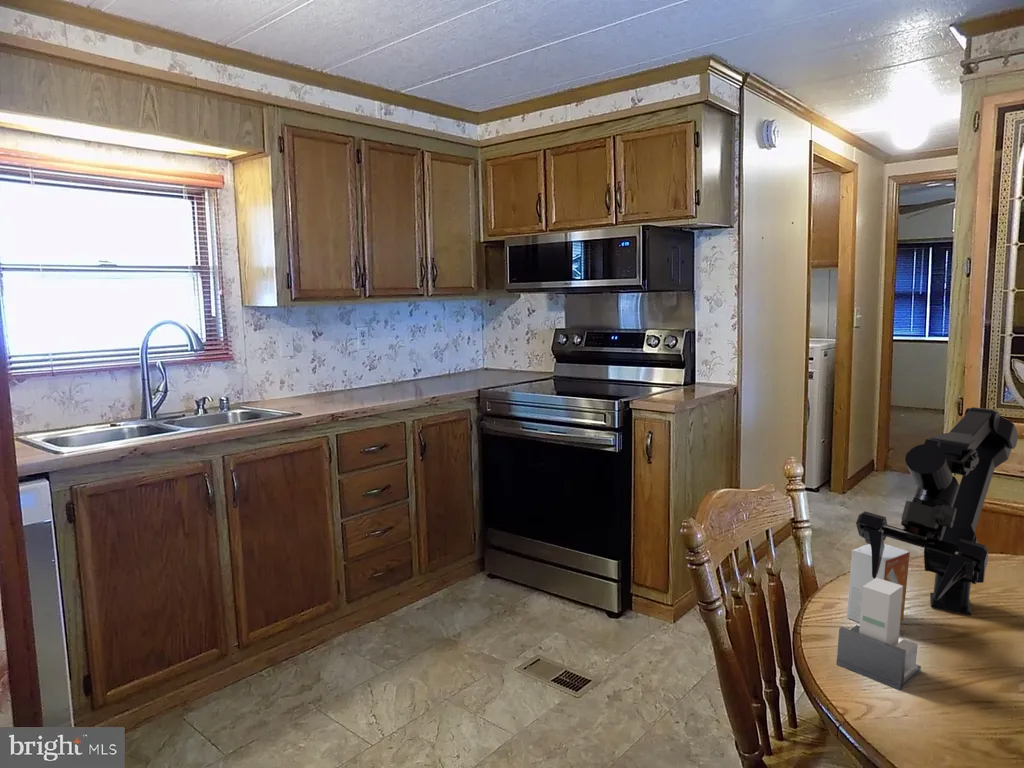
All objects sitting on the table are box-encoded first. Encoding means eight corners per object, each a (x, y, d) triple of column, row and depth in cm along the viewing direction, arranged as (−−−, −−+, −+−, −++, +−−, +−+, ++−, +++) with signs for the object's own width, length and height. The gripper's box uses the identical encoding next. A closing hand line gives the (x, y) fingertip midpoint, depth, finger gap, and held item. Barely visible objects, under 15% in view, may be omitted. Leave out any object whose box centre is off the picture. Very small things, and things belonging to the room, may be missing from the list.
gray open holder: (858, 647, 117) (861, 613, 117) (920, 671, 110) (923, 635, 109) (836, 664, 112) (838, 629, 111) (899, 690, 105) (903, 652, 104)
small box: (880, 632, 123) (886, 560, 121) (845, 617, 128) (850, 549, 126) (904, 620, 127) (910, 551, 125) (870, 606, 132) (875, 540, 130)
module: (870, 647, 114) (876, 577, 113) (897, 657, 111) (903, 585, 110) (856, 658, 111) (862, 586, 109) (883, 669, 108) (889, 595, 106)
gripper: (868, 466, 119) (837, 548, 114) (999, 498, 107) (971, 591, 102) (874, 496, 127) (845, 574, 122) (997, 529, 115) (971, 617, 110)
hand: (904, 587), depth 113 cm, fingers open, 9 cm apart
